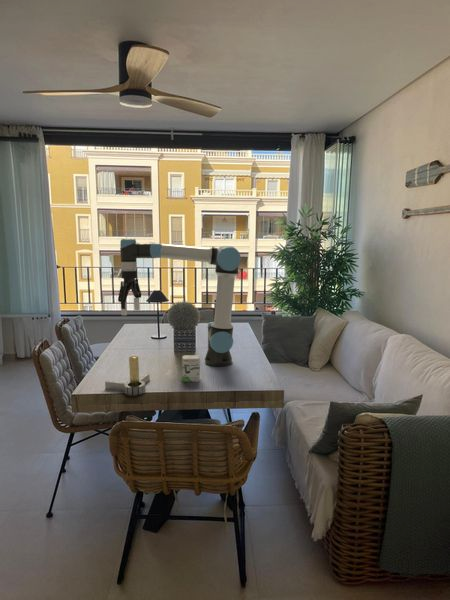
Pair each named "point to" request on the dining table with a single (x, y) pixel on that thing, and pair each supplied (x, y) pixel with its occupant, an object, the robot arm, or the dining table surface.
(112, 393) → the dining table surface
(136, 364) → the pin
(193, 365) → the ink box
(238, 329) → the dining table surface
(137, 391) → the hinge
